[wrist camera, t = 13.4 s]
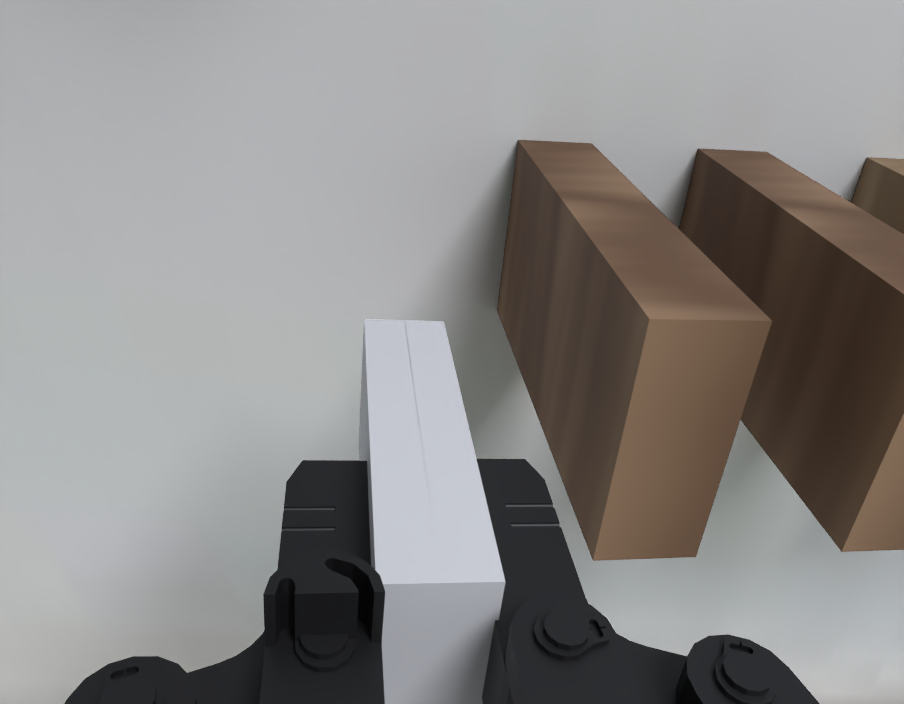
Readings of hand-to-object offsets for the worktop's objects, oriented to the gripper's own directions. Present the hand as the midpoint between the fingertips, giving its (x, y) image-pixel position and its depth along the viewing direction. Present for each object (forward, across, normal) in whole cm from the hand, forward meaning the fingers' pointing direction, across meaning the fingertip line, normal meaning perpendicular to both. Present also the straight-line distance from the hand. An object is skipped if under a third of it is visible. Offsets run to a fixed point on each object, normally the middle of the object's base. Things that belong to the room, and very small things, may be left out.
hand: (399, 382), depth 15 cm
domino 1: (+7, +4, +1) cm, 8 cm away
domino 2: (+7, +9, +1) cm, 12 cm away
